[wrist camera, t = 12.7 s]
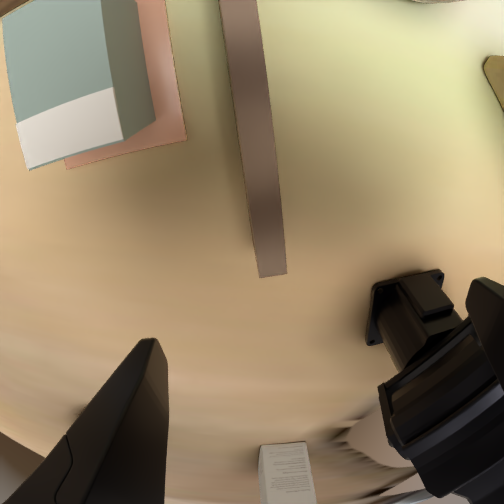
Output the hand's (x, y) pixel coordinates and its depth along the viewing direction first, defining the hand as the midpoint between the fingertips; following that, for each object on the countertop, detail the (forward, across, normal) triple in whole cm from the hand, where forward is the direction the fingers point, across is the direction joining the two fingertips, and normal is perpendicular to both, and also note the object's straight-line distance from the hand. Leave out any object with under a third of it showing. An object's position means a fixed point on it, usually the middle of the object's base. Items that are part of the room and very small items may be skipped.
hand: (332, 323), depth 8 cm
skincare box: (+12, +2, +36) cm, 38 cm away
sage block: (+12, +8, -8) cm, 16 cm away
